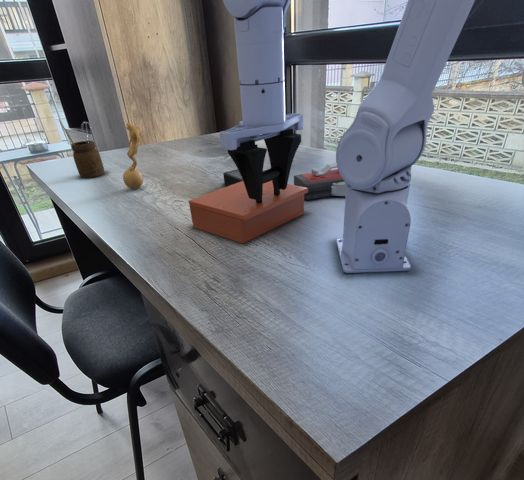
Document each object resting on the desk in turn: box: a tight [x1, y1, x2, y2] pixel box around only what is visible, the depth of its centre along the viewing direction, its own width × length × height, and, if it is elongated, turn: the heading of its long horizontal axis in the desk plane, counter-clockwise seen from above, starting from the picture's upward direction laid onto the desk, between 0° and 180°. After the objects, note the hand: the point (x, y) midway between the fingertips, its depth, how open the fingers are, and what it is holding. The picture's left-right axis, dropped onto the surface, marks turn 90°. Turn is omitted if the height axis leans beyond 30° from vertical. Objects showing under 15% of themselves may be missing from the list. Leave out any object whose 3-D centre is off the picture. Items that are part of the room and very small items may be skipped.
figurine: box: [122, 122, 144, 190], centre depth 78 cm, size 8×6×12 cm
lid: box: [188, 166, 308, 221], centre depth 59 cm, size 12×14×5 cm
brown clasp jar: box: [58, 119, 105, 179], centre depth 89 cm, size 6×6×12 cm
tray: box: [189, 194, 305, 244], centre depth 62 cm, size 11×14×4 cm
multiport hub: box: [222, 168, 243, 187], centre depth 76 cm, size 4×11×2 cm, turn 32°
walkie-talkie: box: [293, 162, 346, 201], centre depth 70 cm, size 9×4×20 cm
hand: (268, 193), depth 57 cm, fingers closed on lid, 5 cm apart
